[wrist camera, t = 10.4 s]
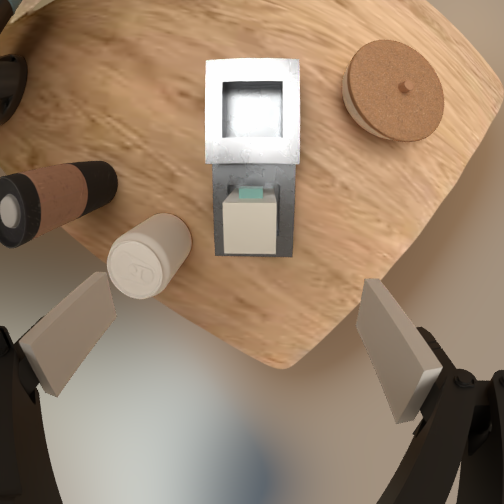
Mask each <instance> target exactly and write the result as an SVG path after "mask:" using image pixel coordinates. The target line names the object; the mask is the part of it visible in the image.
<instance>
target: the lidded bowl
mask: <svg viewBox="0 0 504 504" xmlns="http://www.w3.org/2000/svg"><path fill="white" fill-rule="evenodd" d="M342 96H343V100H344V104H345V106H346V108H347V110H348V112H349V114H350V115H351V117H352V118H353V119H354V120H355V122H356V123H357V124H358V125H359V126H361V127H362V128H363V129H365V130H366V131H368V132H369V133H371V134H373V135H375V136H378V137H380V138H384V139H388V140H396V141H402V142H412V141H418V140H421V139H424V138H426V137H428V136H429V135H430V134H432V133H433V132H434V131H435V129H436V128H437V127H438V125H439V123H440V121H441V119H442V115H443V111H444V95H443V90H442V86H441V83H440V80H439V78H438V76H437V74H436V72H435V71H434V69H433V68H432V66H431V65H430V64H429V62H428V61H427V60H426V59H425V58H424V57H423V56H422V55H421V54H419V53H418V52H417V51H416V50H414V49H412V48H411V47H409V46H407V45H405V44H403V43H400V42H397V41H392V40H377V41H373V42H370V43H368V44H366V45H365V46H363V47H362V48H360V50H359V51H358V52H357V53H356V54H355V55H354V57H353V58H352V60H351V61H350V62H349V64H348V66H347V67H346V70H345V72H344V75H343V80H342Z"/></svg>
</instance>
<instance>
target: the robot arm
mask: <svg viewBox="0 0 504 504" xmlns="http://www.w3.org/2000/svg"><path fill="white" fill-rule="evenodd" d="M21 2H22V0H0V34H1V32H2V30H3V29H4V27H5V26H6V24H7V22H8V21H9V19H10V18H11V16H13V15H14V14H15V11H16V9H17V8H18V6H19V5H20V3H21ZM26 79H27V65H26V61H25V59H24V58H23V57H22V56H19V55H14V54H9V55H5V56H0V125H1V124H3V123H5V122H6V121H7V120H8V119H9V118H10V117H11V116H12V115H13V113H14V112H15V110H16V108H17V106H18V104H19V102H20V100H21V98H22V95H23V92H24V89H25V84H26ZM116 317H117V316H116V311H115V308H114V303H113V299H112V295H111V291H110V286H109V281H108V276H107V272H95V273H93V274H92V275H91V276H90V277H89V278H87V279H86V280H85V281H84V282H83V283H81V284H80V285H79V286H78V287H77V288H76V289H75V290H73V291H72V292H71V293H70V294H69V295H68V296H66V297H65V298H64V299H63V300H62V301H61V302H60V303H59V304H57V305H56V306H55V307H54V308H53V309H52V310H51V311H50V312H49V313H48V314H46V315H45V316H43V317H42V318H40V319H39V320H38V321H37V322H36V324H35V325H33V326H32V327H31V329H29V330H28V331H27V332H26V333H25V334H24V335H23V336H22V337H21V338H20V339H19V340H18V341H17V342H16V343H15V344H13V342H12V340H11V337H10V335H9V333H8V330H7V329H6V328H5V327H4V326H0V504H63V503H62V500H61V497H60V494H59V490H58V487H57V484H56V481H55V477H54V473H53V470H52V466H51V462H50V458H49V453H48V449H47V444H46V439H45V433H44V428H43V421H42V414H41V406H40V398H39V392H38V390H37V388H36V386H37V385H38V384H39V383H40V384H41V386H42V388H43V390H44V391H45V393H48V394H50V395H53V396H55V397H58V396H59V394H60V393H61V391H62V390H63V388H64V387H65V386H66V384H67V383H68V381H69V380H70V378H71V377H72V376H73V374H74V373H75V371H76V370H77V368H78V367H79V366H80V364H81V363H82V362H83V360H84V359H85V358H86V356H87V355H88V354H89V352H90V351H91V349H92V348H93V347H94V346H95V344H96V343H97V341H98V340H99V339H100V338H101V336H102V335H103V334H104V332H105V331H106V330H107V328H108V327H109V326H110V325H111V323H112V322H113V321H114V320H115V318H116ZM356 327H357V330H358V332H359V334H360V336H361V339H362V341H363V343H364V345H365V348H366V350H367V352H368V355H369V357H370V359H371V362H372V364H373V366H374V369H375V371H376V374H377V376H378V378H379V381H380V383H381V386H382V388H383V391H384V393H385V396H386V398H387V401H388V403H389V406H390V408H391V411H392V414H393V416H394V419H395V422H396V424H399V423H403V422H408V421H412V420H414V419H415V417H416V416H417V414H418V412H419V410H420V411H421V413H422V416H423V419H422V420H421V422H420V423H419V425H418V426H417V428H416V429H415V431H414V432H413V435H414V437H413V439H412V442H411V443H410V446H409V448H408V450H407V452H406V454H405V456H404V457H403V459H402V461H401V463H400V465H399V467H398V469H397V471H396V472H395V474H394V476H393V478H392V479H391V481H390V483H389V484H388V486H387V488H386V489H385V491H384V493H383V494H382V496H381V497H380V499H379V501H378V502H377V504H445V502H446V500H447V498H448V495H449V493H450V490H451V487H452V485H453V482H454V480H455V477H456V474H457V471H458V468H459V465H460V462H461V470H460V480H459V489H458V496H457V503H456V504H504V370H499V371H497V372H495V373H494V375H493V377H492V379H491V380H490V381H477V380H476V378H475V376H474V375H473V374H472V373H470V372H468V371H466V370H464V369H456V368H455V366H454V365H453V363H452V362H451V360H450V359H449V358H448V356H447V355H446V354H445V352H444V351H443V349H441V346H440V345H439V344H438V343H437V342H436V340H435V338H434V337H433V336H432V334H431V333H430V332H428V331H427V330H426V329H424V328H423V327H417V328H416V327H415V326H414V324H413V323H412V322H411V320H410V319H409V317H408V316H407V315H406V313H405V312H404V311H403V310H402V308H401V307H400V305H399V304H398V303H397V301H396V300H395V299H394V297H393V296H392V295H391V294H390V292H389V291H388V290H387V289H386V287H385V286H384V285H383V283H382V282H381V281H380V280H379V279H365V281H364V287H363V292H362V297H361V303H360V308H359V313H358V317H357V322H356Z"/></svg>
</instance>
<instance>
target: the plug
mask: <svg viewBox="0 0 504 504" xmlns="http://www.w3.org/2000/svg"><path fill="white" fill-rule="evenodd" d="M276 215H277V202H276V197H275V193H274V188H263V186H240V188H235V189H234V190H233V191H232V192H231V193H230V194H229V196H228V197H227V198H226V199H225V200H224V202H223V234H224V253H227V254H276Z"/></svg>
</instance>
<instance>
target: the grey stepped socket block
mask: <svg viewBox="0 0 504 504" xmlns="http://www.w3.org/2000/svg"><path fill="white" fill-rule="evenodd" d="M205 159H206V164H212V173H213V213H214V240H215V256H258V257H292V251H293V230H294V205H295V169H296V164H300V71H299V59H282V58H237V59H218V60H206V89H205ZM240 186H263V188H274V193H275V197H276V202H277V215H276V254H227V253H224V234H223V202H224V200H225V199H226V198H227V197H228V196H229V194H230V193H231V192H232V191H233V190H234V189H235V188H240Z"/></svg>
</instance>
